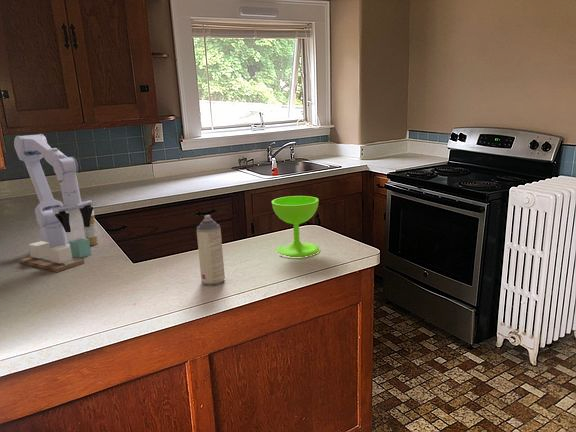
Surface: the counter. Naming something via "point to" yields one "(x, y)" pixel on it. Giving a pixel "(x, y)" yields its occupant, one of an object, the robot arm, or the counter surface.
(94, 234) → the sprinkles bottle
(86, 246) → the block
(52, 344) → the counter surface
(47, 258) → the rail
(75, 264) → the rail board
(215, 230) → the aerosol can
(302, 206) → the wineglass
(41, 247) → the mounted modules
